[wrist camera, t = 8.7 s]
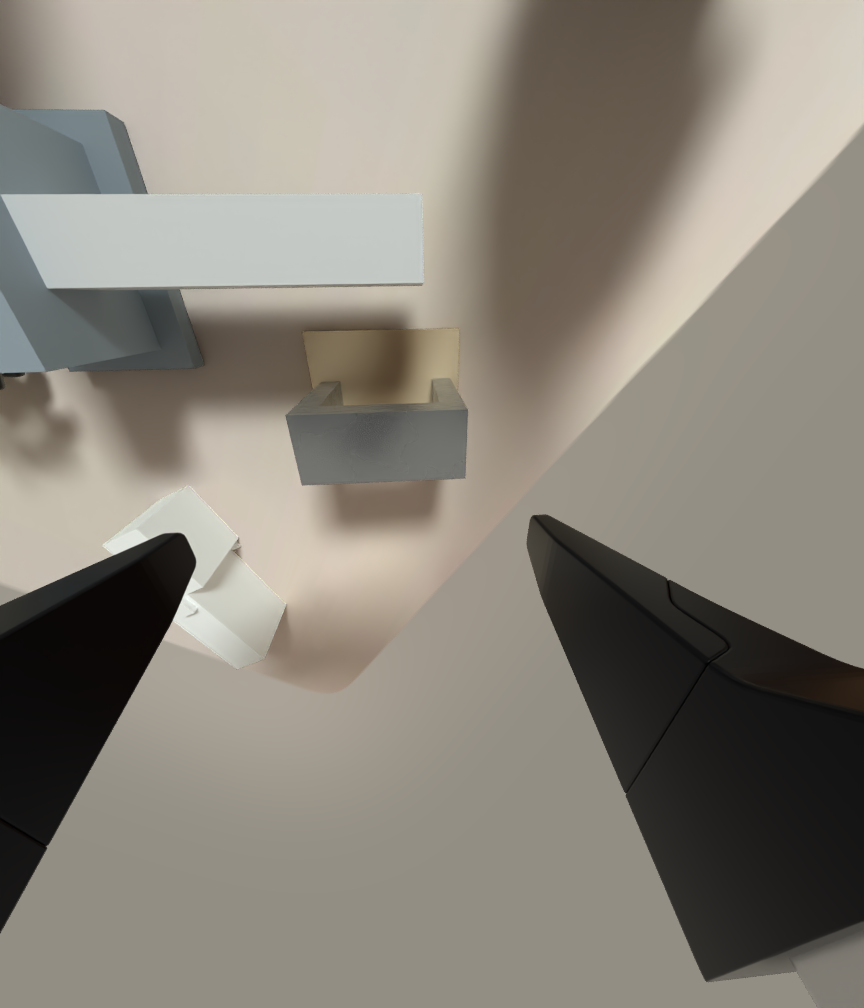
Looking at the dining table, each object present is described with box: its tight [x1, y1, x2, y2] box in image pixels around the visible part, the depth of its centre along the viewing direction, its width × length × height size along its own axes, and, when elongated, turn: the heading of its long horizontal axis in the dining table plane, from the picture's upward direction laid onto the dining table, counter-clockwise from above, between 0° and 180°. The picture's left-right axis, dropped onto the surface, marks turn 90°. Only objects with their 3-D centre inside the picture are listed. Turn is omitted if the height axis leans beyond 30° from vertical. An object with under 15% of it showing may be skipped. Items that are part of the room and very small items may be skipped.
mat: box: [302, 328, 459, 406], centre depth 20 cm, size 8×8×1 cm
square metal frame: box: [285, 378, 468, 485], centre depth 17 cm, size 3×7×6 cm, turn 91°
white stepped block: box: [102, 485, 287, 669], centre depth 22 cm, size 15×11×6 cm
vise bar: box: [0, 104, 424, 373], centre depth 13 cm, size 18×9×7 cm, turn 91°
